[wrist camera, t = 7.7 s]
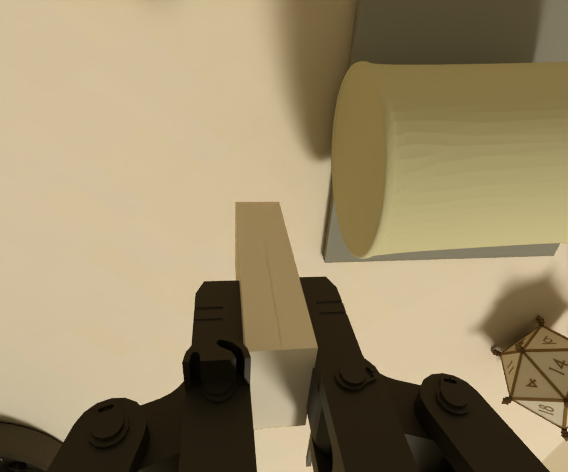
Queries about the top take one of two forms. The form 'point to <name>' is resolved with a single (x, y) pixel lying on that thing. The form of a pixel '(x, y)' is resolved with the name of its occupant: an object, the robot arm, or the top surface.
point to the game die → (539, 374)
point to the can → (450, 156)
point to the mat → (454, 50)
